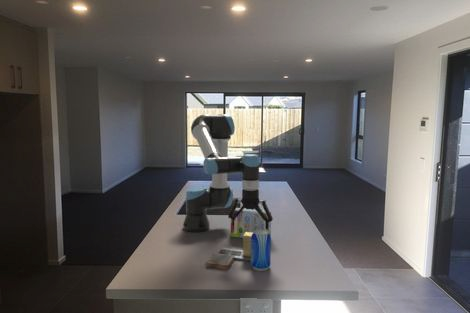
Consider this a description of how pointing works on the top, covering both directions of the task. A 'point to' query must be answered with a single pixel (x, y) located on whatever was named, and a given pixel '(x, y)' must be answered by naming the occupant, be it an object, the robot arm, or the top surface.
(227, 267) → the pad
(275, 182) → the top surface
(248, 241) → the brass rectangular block
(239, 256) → the grey slotted plate
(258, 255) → the beer can
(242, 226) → the snack box
